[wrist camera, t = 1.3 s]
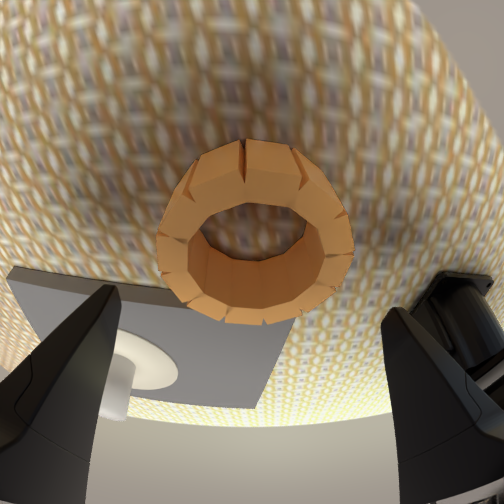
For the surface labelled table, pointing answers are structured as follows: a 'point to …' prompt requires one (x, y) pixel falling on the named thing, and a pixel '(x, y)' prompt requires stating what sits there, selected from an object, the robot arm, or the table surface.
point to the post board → (160, 344)
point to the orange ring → (253, 272)
